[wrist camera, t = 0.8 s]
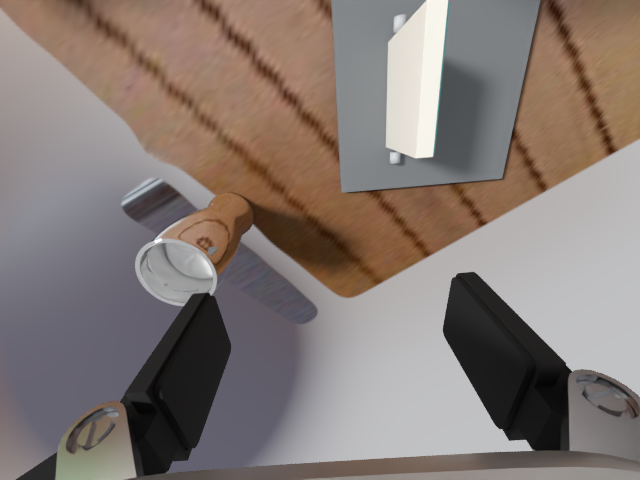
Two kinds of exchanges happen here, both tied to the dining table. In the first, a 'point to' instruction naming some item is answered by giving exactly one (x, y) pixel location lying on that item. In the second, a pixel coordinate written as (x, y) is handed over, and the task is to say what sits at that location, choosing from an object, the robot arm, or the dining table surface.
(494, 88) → the mat
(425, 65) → the tile
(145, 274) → the beer glass
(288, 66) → the dining table surface
